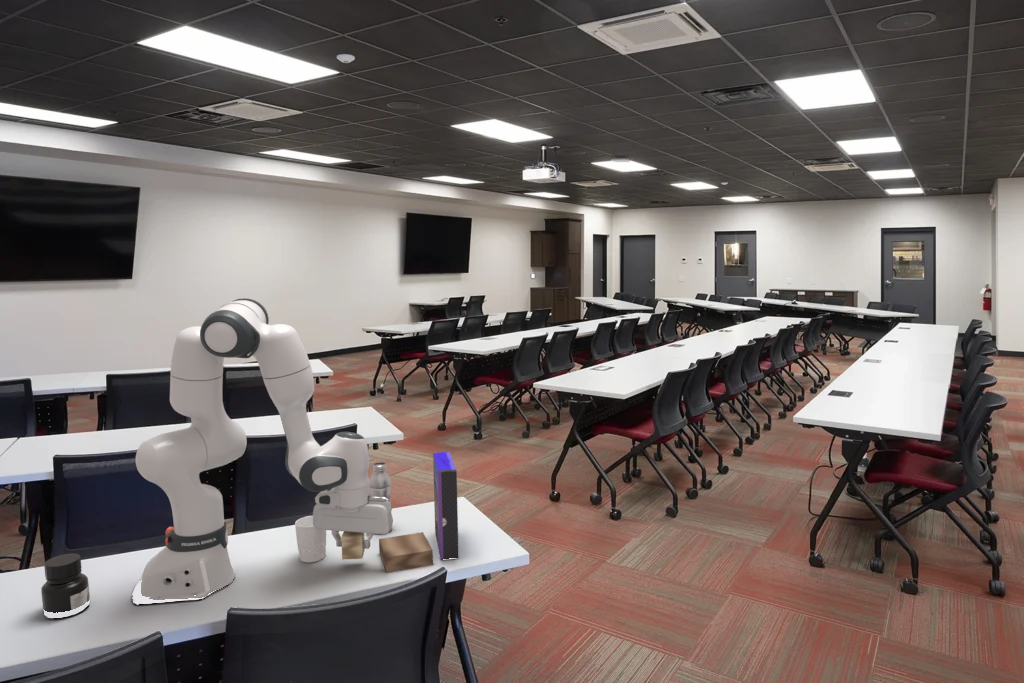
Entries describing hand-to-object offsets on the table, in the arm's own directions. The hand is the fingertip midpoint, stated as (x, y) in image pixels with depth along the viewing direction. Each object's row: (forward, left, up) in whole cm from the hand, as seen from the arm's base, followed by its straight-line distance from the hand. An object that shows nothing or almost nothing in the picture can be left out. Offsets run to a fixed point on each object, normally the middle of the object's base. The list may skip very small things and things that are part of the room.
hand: (353, 546), depth 170 cm
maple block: (0, 0, -2) cm, 2 cm away
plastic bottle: (+10, +21, -6) cm, 24 cm away
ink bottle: (-64, +2, -6) cm, 64 cm away
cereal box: (+25, +4, -6) cm, 26 cm away
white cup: (-10, +10, -6) cm, 15 cm away
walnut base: (+13, 0, -5) cm, 14 cm away
